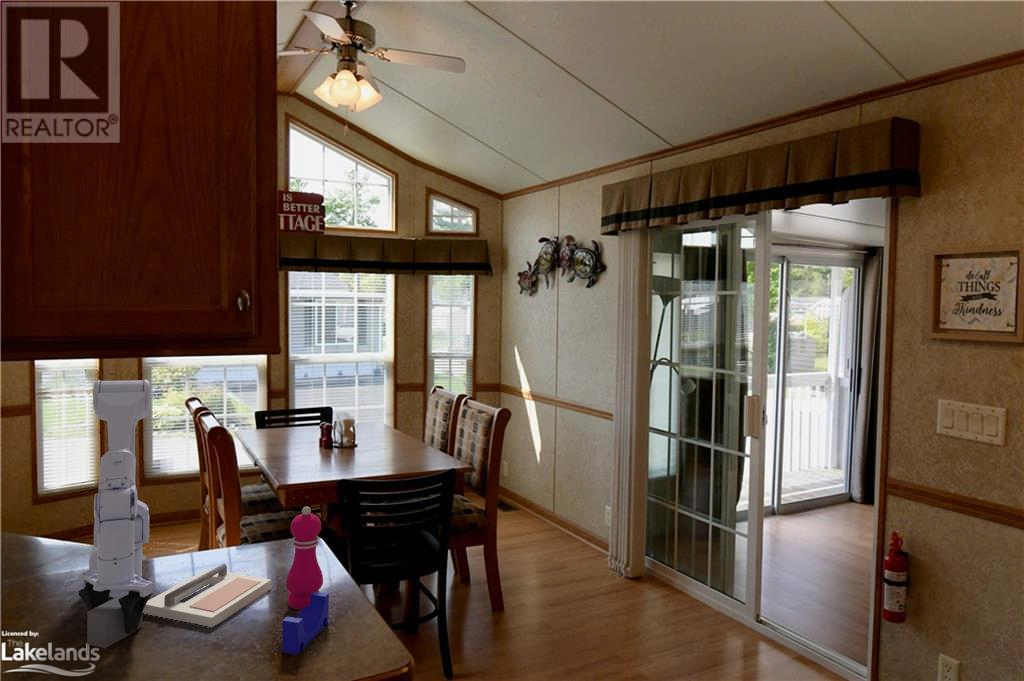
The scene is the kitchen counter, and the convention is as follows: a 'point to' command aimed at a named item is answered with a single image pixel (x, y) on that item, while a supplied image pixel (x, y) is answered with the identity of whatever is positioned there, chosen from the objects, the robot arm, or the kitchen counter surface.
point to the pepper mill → (304, 560)
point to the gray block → (106, 624)
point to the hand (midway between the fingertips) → (115, 627)
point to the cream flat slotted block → (208, 597)
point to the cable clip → (305, 624)
